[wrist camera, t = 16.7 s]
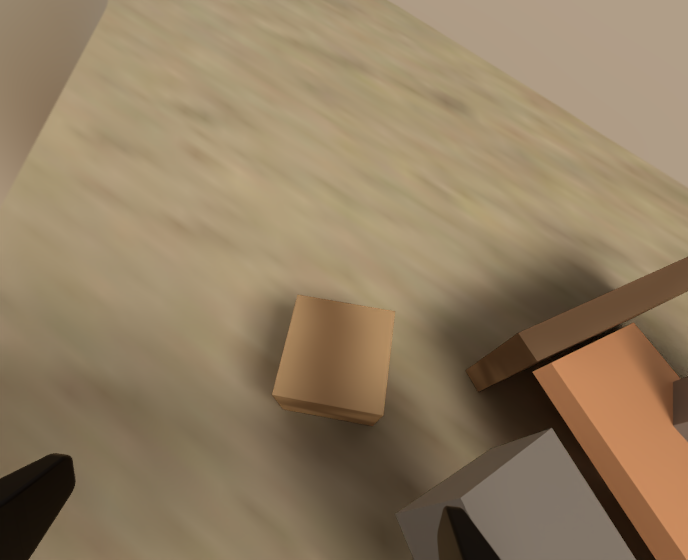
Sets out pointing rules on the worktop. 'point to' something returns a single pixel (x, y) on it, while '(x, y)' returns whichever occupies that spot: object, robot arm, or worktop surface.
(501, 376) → the frame
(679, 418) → the stone
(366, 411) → the brown cube-like block
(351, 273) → the worktop surface
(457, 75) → the worktop surface
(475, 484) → the trapdoor
